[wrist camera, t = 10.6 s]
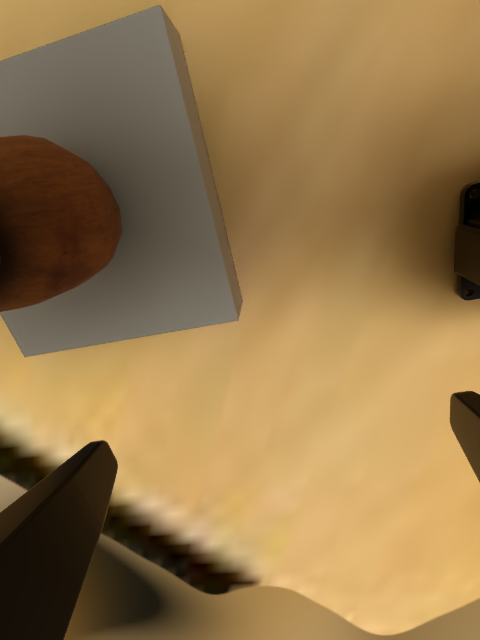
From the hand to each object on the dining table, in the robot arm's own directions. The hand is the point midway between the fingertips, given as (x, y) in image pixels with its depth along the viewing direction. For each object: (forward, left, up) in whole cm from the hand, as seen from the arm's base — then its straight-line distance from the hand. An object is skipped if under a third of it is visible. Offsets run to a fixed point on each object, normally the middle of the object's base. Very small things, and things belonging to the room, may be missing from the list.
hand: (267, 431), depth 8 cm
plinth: (+9, -6, -13) cm, 17 cm away
